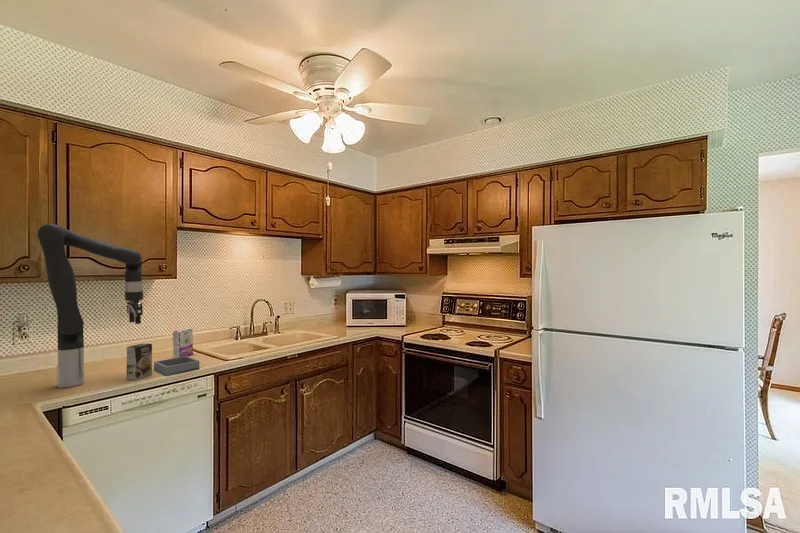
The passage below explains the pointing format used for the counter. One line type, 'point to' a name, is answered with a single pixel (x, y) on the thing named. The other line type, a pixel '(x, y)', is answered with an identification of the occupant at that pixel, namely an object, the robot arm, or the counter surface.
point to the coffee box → (139, 361)
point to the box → (176, 365)
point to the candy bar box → (182, 343)
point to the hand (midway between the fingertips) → (135, 322)
